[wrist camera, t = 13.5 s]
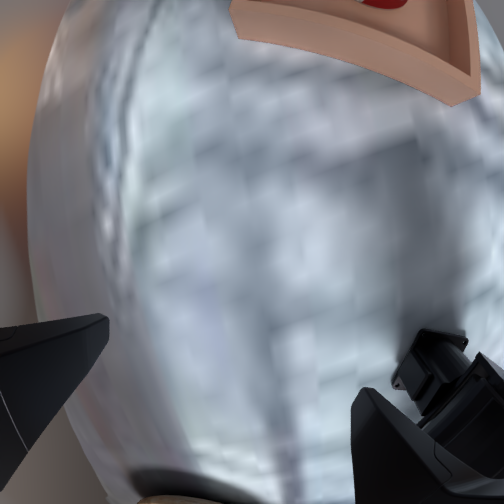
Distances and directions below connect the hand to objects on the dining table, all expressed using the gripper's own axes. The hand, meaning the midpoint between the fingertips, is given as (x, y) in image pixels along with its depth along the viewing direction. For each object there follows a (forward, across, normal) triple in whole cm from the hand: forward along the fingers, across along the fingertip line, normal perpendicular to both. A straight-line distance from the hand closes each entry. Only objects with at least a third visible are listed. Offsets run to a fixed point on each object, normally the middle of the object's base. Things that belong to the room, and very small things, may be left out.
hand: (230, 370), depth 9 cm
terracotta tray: (+13, -3, -26) cm, 29 cm away
